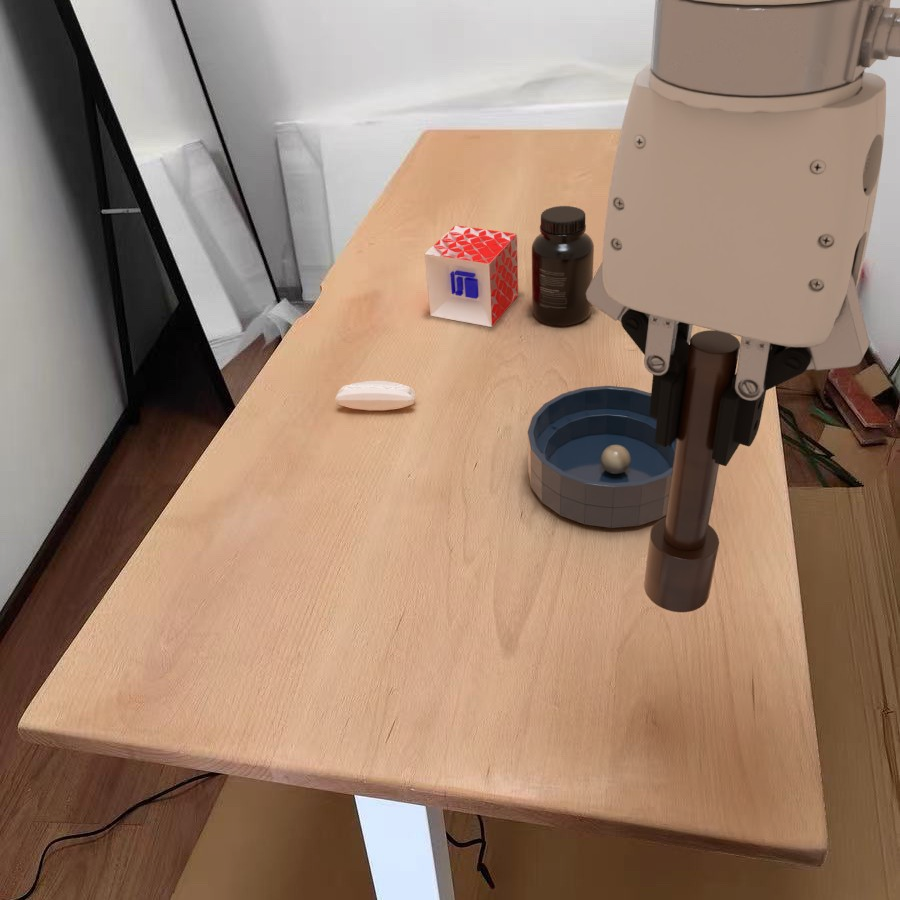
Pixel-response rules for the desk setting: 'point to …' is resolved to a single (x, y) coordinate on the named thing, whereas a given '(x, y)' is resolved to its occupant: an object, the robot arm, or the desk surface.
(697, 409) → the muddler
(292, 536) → the desk surface
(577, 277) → the supplement bottle
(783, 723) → the desk surface
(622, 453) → the ball
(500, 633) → the desk surface
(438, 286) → the puzzle cube
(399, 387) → the sandwich bun
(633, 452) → the bowl
